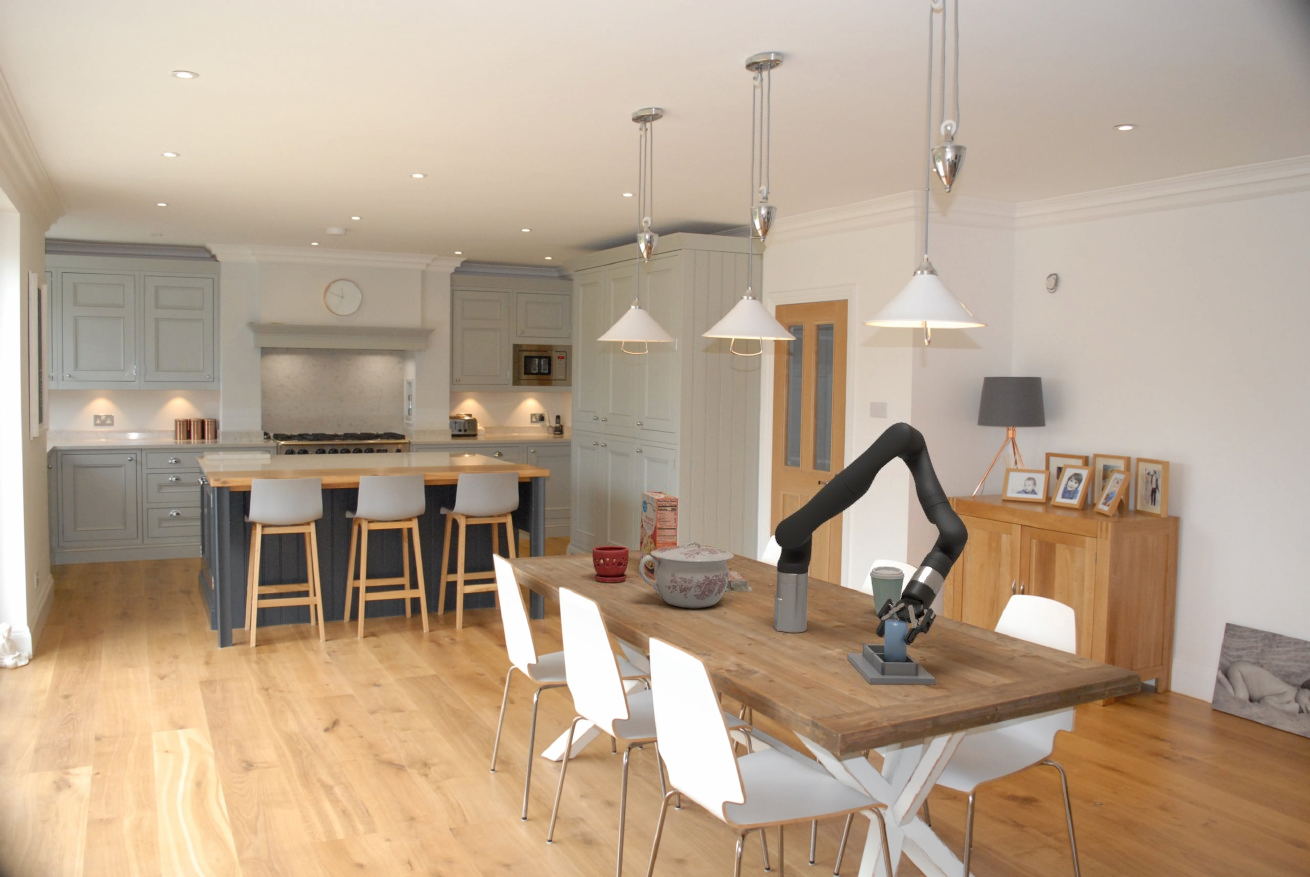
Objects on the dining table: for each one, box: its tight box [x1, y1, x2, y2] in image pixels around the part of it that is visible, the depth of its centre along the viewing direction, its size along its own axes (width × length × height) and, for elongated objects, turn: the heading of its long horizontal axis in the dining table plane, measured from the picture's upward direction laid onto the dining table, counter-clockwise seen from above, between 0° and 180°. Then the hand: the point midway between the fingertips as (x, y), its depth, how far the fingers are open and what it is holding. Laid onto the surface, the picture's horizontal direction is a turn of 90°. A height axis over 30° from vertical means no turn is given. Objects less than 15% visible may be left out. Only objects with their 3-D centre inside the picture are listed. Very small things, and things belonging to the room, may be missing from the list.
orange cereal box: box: [639, 491, 679, 581], centre depth 366 cm, size 23×8×30 cm, turn 15°
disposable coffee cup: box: [869, 566, 905, 617], centre depth 306 cm, size 11×11×15 cm
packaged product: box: [726, 570, 753, 592], centre depth 346 cm, size 18×5×10 cm
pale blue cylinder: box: [883, 619, 909, 663], centre depth 240 cm, size 6×6×12 cm
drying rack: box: [846, 643, 936, 686], centre depth 244 cm, size 16×22×4 cm
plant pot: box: [592, 545, 629, 583], centre depth 351 cm, size 13×13×12 cm
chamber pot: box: [637, 540, 735, 610], centre depth 315 cm, size 28×28×21 cm
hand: (892, 639), depth 239 cm, fingers open, 8 cm apart
